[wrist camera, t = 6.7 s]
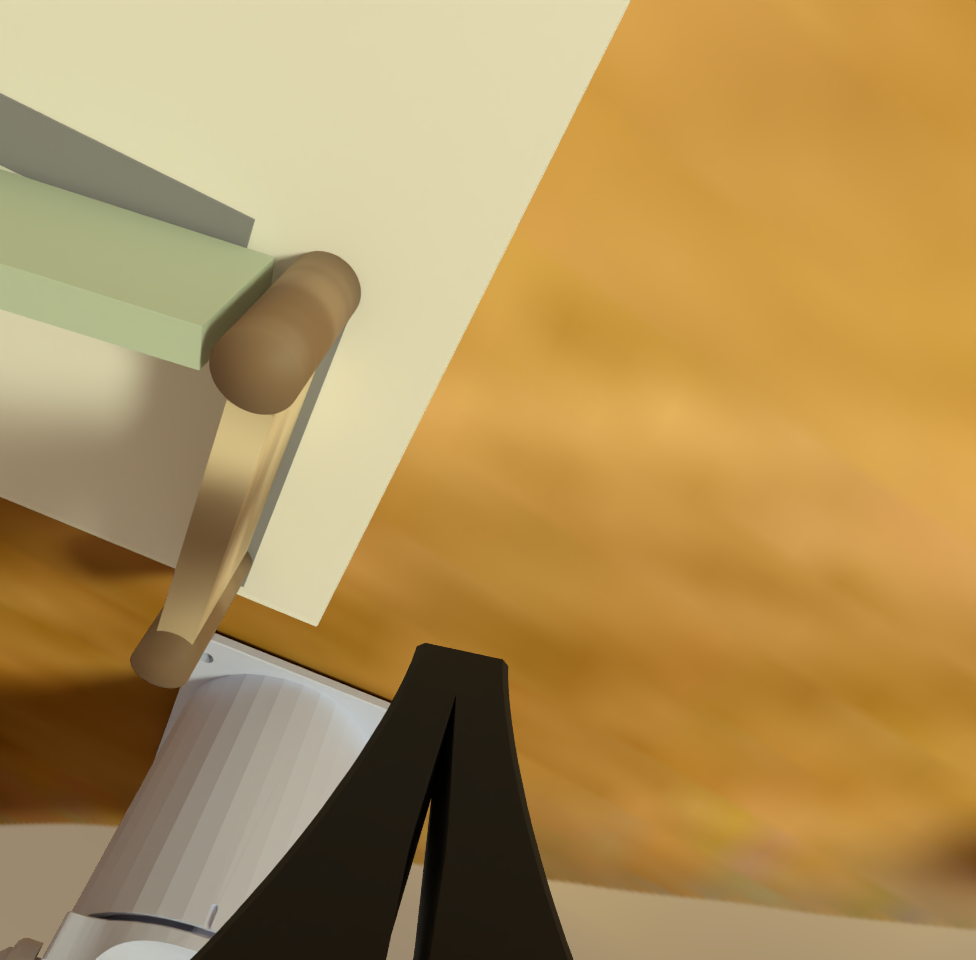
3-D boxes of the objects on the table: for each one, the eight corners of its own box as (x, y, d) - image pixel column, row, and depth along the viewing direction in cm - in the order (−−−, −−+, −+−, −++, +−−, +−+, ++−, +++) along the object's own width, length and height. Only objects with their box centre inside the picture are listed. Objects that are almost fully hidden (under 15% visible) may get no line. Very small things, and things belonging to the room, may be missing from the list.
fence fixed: (248, 583, 25) (186, 697, 21) (195, 561, 24) (122, 672, 21) (371, 273, 18) (312, 357, 14) (300, 237, 18) (221, 314, 14)
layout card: (320, 618, 26) (316, 628, 25) (-306, 359, 22) (-322, 366, 22) (665, -74, 14) (667, -74, 14) (-545, -822, 11) (-586, -850, 10)
